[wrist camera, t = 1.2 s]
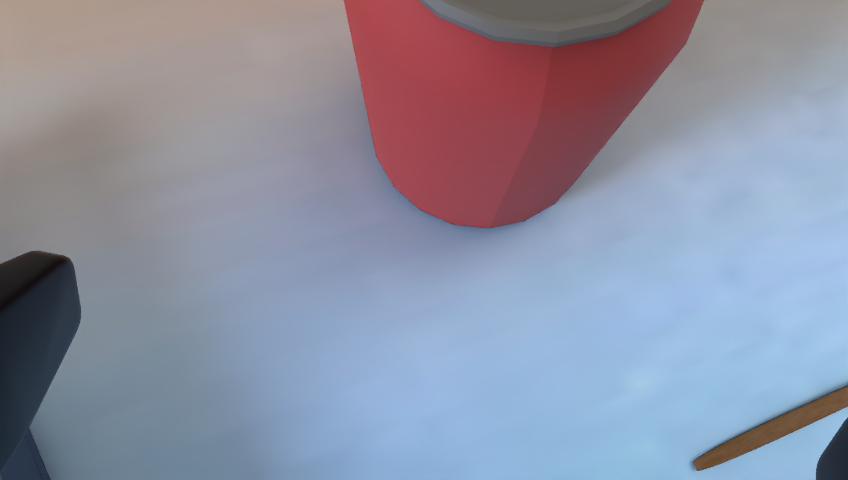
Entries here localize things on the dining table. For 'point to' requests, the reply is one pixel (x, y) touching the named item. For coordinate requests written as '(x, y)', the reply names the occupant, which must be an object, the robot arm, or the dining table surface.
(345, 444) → the dining table surface
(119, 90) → the dining table surface
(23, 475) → the tray
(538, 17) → the beer can
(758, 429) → the place setting
